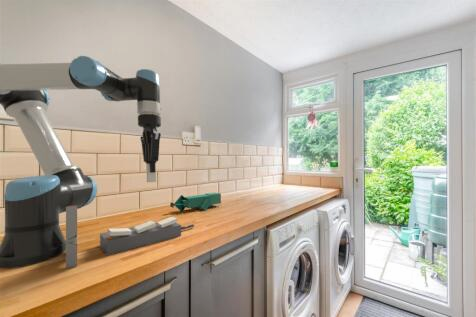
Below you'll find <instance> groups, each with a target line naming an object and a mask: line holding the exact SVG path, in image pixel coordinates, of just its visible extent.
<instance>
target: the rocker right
mask: <svg viewBox="0 0 476 317" xmlns="http://www.w3.org/2000/svg"><path fill="white" fill-rule="evenodd" d="M177 222H178V218H177V217H175V216H170V217H167V218H165V219H162V220H160V221H157V225H158V226H159V227H161V228H164V227H166V226H168V225H171V224H173V223H177Z"/></svg>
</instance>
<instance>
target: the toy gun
mask: <svg viewBox="0 0 476 317" xmlns="http://www.w3.org/2000/svg"><path fill="white" fill-rule="evenodd" d="M65 240H66V250H65V270H68V269H72V268H76V267H78V209H77V206H75V205H69V206H68V207H66V212H65Z"/></svg>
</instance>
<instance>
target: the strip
mask: <svg viewBox="0 0 476 317" xmlns="http://www.w3.org/2000/svg"><path fill="white" fill-rule="evenodd" d="M157 222H158V221H157ZM157 222H155V223H156V226H155V227H153V228H150V229H148V230H145V231H143V232H140V233H137V232H136V231H134V227H135V226H133V227H128V228H129V229H130V230H131V231H132V234H131V235H118V236H110V235H109V234H108V233H107V232H108V231H106V232H102V233H99V246H100V248H101V250H103V252H104V253H105V255H106V256H110V255H114V254H118V253H121V252H125V251H129V250H132V249H133V250H134V249H135V248H139V247H140V248H141V247H145V246H149V245H151V244H155V243H161V242H164V241H167V240H170V239H175V238H178V237H182V230H186V229H189V228H190V229H191V228H194V227H195V224H189V225H185V226H182V224H180V223H177V222H175V223H173V224H171V225H168V226H166V227H164V228H161V227H159V226H158V225H157Z"/></svg>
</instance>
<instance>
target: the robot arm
mask: <svg viewBox="0 0 476 317" xmlns="http://www.w3.org/2000/svg"><path fill="white" fill-rule="evenodd" d="M160 89H161V85H160V76H159V74H158V73H157V72H155V71H154V70H152V69H147V68H145V69H144V68H143V69H142V68H141V69H139V70H137V71H136V74H135V77H126V78H124V77H122V76H120V75H118V74H117V73H116V72H114V71H112V70H110V68H108V67H107V66H105V65H103V64H102V63H101V62H99V61H98V60H95V59H93V58H92V57H89V56H87V55H79V56H77V57H76V58H74V59H73V60H72V61H70V62H54V63H52V62H50V63H49V62H46V63H40V62H39V63H6V64H5V63H4V64H3V63H0V105H1V106H2V107H3V110H4V112H5V113H6V115H7V116H9V117H11V118H14V119H15V120H16V122H17V124H18V127H19V128H20V130H21V132H22V134H23V136H24V138H25V140H26V141H27V143H28V145H29V147H30V149H31V151H32V153H33V155H34V157H35V159H36V160H37V162H38V165H39V166H40V168H41V169H42V170H41V171H42V172H43V175H42V174H41V175H36V176H35V175H34V176H26V177H20V178H19V177H18V178H16V179H13V180H11V181H9V182H8V183H7V184H6V185H5V194H4V196H3V199H4V236H3V237H2V240H1V242H0V268H2V269H3V268H6V269H7V268H19V267H24V266H29V265H33V264H34V265H35V264H38V263H41V262H45V261H48V260H50V259H52V258H55V257H58V256H60V255H61V254H63V253H64V252H66V237H64V234H63V232H62V229H61V227H60V214H62V213H66V207H68V206H69V205H75V206H77V210H79V209H81V208H84V207H86V206H88V205H90V204H91V203H92V202H93V201H94V200H95V199H96V196H97V193H98V186H97V183H96V180H95V179H94V178H93V177H91V176H88V175H85V174H84V173H83V170H82V169H81V168H80V167H78V166H76V165H74V164H73V162H72V160H71V159H70V157H69V154H68V153H67V151H66V149H65V147H64V145H63V143H62V141H61V139H60V137H59V135H58V134H57V131H56V130H55V128H54V127H53V126H54V125H53V124H52V123H51V121H50V119H49V117H48V115H47V111H48V110H49V109H48V108H49V104H50V102H49V101H50V99H51V98H50V94H49V92H48V91H53V90H56V91H57V90H59V91H60V90H61V91H63V90H66V91H67V90H95V91H98V92H100V94H101V96H102V97H104V98H103V99H104V100H106V101H108V102H122V101H137V103H136V106H137V109H136V111H137V112H136V113H137V114H138V115H137V125H138V127H140V128H143V130H142V134H141V135H142V136H140V138H139V139H140V142H141V148H142V149H141V151H142V158H143V162H144V163H145V165H146V183H156V182H157V167H156V164H157V162H159V156H160V141H161V132H158V129H157V128H160V127H162V121H161V120H162V118H161V116H160V115H161V111H162V108H161V99H160V97H161V92H160V91H161V90H160Z"/></svg>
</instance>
